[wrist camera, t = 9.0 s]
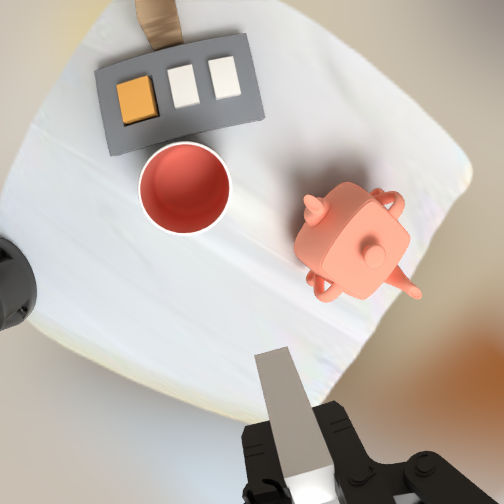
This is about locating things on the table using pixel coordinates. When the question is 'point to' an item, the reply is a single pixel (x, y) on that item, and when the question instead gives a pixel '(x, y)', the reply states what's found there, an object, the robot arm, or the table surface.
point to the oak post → (159, 23)
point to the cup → (185, 188)
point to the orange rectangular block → (137, 100)
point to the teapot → (353, 242)
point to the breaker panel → (164, 96)
